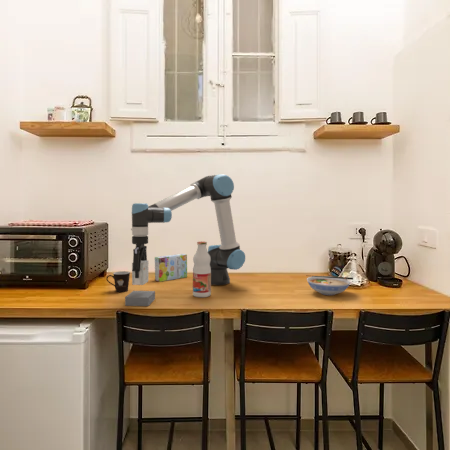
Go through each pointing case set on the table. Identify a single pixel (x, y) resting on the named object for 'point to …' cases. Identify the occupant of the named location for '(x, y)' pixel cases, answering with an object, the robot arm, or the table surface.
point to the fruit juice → (201, 271)
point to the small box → (142, 272)
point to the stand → (140, 298)
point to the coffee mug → (120, 280)
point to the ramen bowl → (329, 284)
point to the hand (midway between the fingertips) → (140, 282)
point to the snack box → (170, 267)
